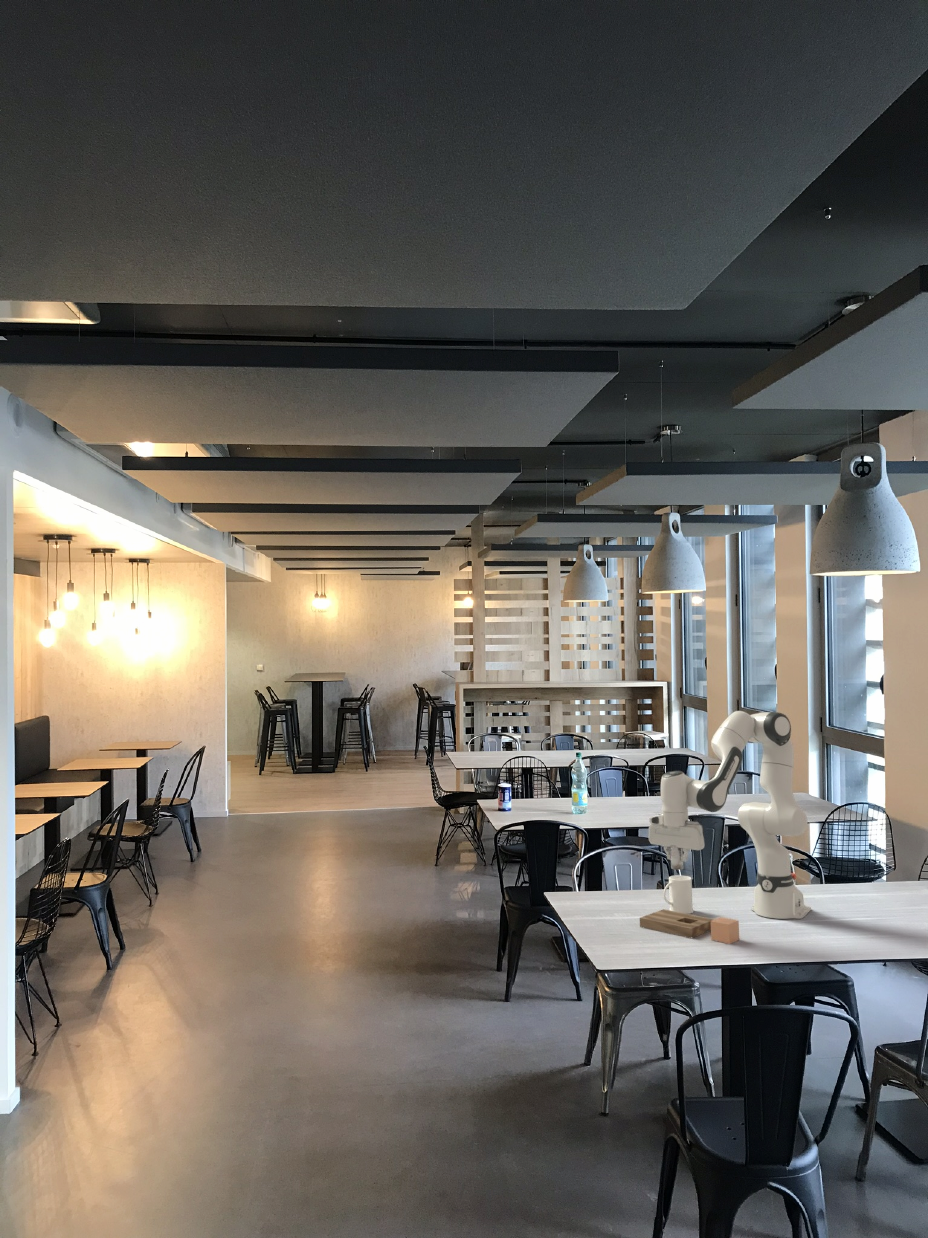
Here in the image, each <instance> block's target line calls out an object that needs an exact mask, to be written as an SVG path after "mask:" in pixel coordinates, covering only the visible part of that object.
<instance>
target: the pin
mask: <svg viewBox="0 0 928 1238" xmlns="http://www.w3.org/2000/svg"><path fill="white" fill-rule="evenodd" d="M669 849H670V852H671V860H670V868H671V869H672V870H675V871H679V870H684V862H683V861H681V857H680V856H683V854H684V852H683V848H677V847H676V846H674V845H671V846H670V848H669Z"/></svg>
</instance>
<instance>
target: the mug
mask: <svg viewBox="0 0 928 1238" xmlns="http://www.w3.org/2000/svg"><path fill="white" fill-rule="evenodd" d="M692 880H693V879H692V877H691V876H688V875H679V874H678V875H677V874H676V875H671V876H669V877H668V883H667V884H666V886H665V887H664V889H663V899H664V901H665V903H667V904H668V905H669V909H668V910H670V911H675V912H680V913H685V914H690V915H691V914H692V913H694V907H693V905H694V904H693V885H692V882H693V881H692ZM667 889H669V890H668V891H669V892H668V893H669V900H667V897H666V892H667Z"/></svg>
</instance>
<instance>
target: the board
mask: <svg viewBox="0 0 928 1238" xmlns="http://www.w3.org/2000/svg"><path fill="white" fill-rule="evenodd" d="M714 919H715V918H710V917H705V916H699V915H695V914H691V913H690V914H685V913H680V912H675V911H670V910H669V909H666V908H665V909H661V910H657V911H655V912H652V913H649V914H646V915H644V916H640V917H639V927H640V928H643V927H644V928H643V929H648V928H649V930H654V931H658V932H662V931H663V932H662V933H667V934H671V933H672V934H671V935H675V934H677V935H676V936H680V935H681V936H680V937H684V936H686V938H689V937H693V938H695V936H696V937H698V936H700V935H702V933H703V934H705V933H708V932H709V931H710V932H711V921H712V920H714ZM707 931H708V932H707ZM699 934H700V935H699Z"/></svg>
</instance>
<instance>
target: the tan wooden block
mask: <svg viewBox="0 0 928 1238" xmlns="http://www.w3.org/2000/svg"><path fill="white" fill-rule="evenodd" d="M713 919H714V920H712V921H711V930H710V939H711V941H713V940H717V941H716V942H718V941H719V943H723V942H724V943H723V944H726V945H727V944H729V945H731V944H733V943H735V942H738V941H739V940H740V925H739V924H740V920H737V919H731V918H728V917H723V916H720V917H719V916H718V917H717V918H713ZM732 942H733V943H732Z"/></svg>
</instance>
